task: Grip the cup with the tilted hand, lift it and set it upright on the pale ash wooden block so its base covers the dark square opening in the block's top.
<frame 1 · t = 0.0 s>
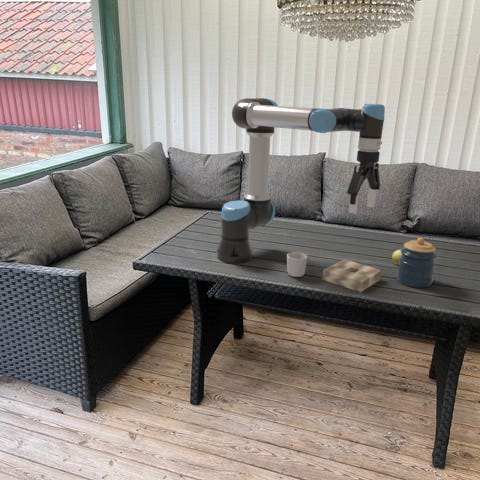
hand: (361, 209, 164), 28 cm above the table, tool pointing down, fingers open, 13 cm apart
tennis ball: (398, 264, 192), on the table
cup: (297, 274, 178), on the table
canister: (413, 282, 174), on the table
opening block: (351, 279, 174), on the table
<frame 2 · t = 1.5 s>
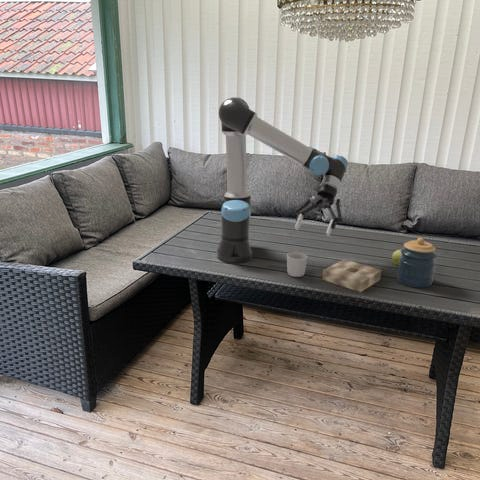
hand: (311, 231, 182), 15 cm above the table, tool tilted 45°, fingers open, 13 cm apart
nothing on the table moved.
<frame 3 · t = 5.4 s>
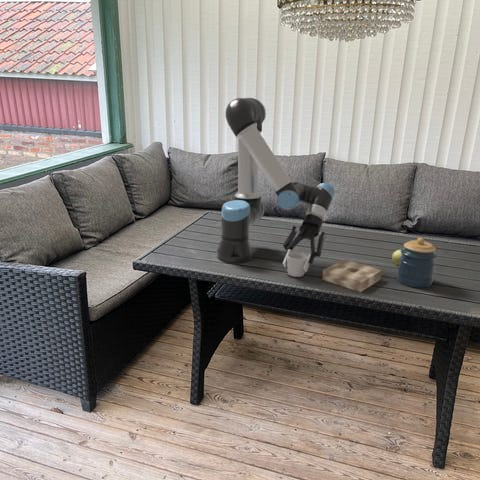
hand: (294, 267, 174), 4 cm above the table, tool tilted 45°, fingers closed on cup, 8 cm apart
cup: (297, 274, 178), on the table, touching gripper
everything else where it was.
when the fingers open (9 cm above the table, at t = 10.5 s): cup drops 1 cm, resting on opening block.
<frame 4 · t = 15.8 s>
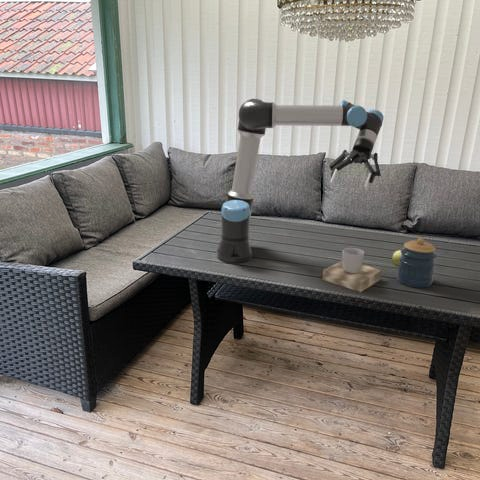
hand: (348, 186, 175), 34 cm above the table, tool tilted 45°, fingers open, 13 cm apart
cup: (352, 270, 173), point 4 cm above the table, touching opening block
everything else where it was.
at the end: cup 0.1 cm off-centre on the opening block, point 3.8 cm above the opening block's base; cup tilted 0°; the gripper is holding nothing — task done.
